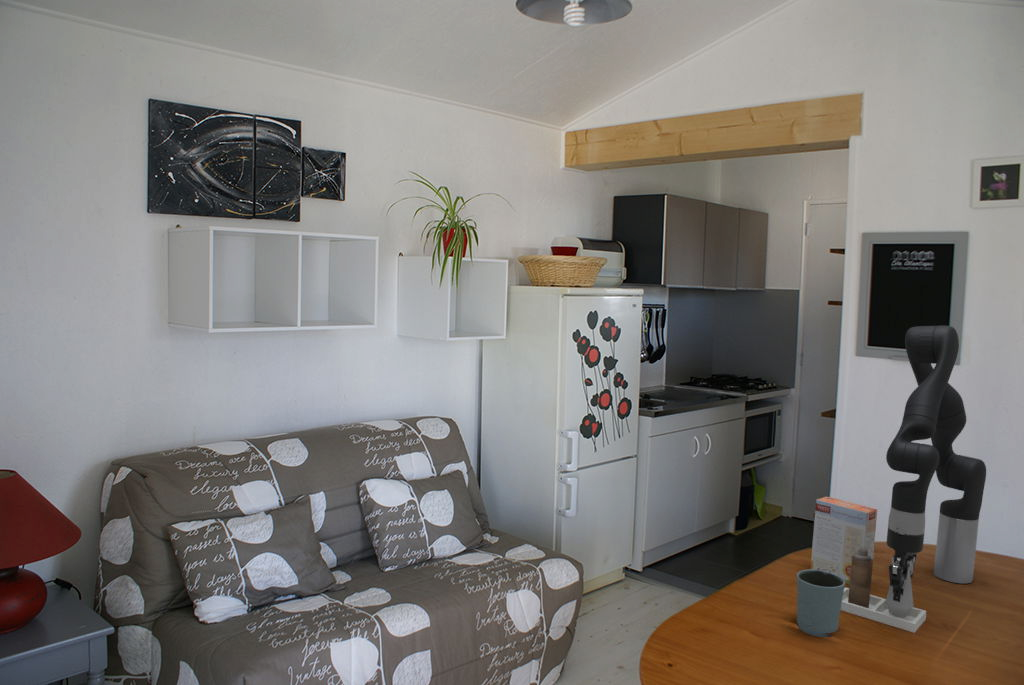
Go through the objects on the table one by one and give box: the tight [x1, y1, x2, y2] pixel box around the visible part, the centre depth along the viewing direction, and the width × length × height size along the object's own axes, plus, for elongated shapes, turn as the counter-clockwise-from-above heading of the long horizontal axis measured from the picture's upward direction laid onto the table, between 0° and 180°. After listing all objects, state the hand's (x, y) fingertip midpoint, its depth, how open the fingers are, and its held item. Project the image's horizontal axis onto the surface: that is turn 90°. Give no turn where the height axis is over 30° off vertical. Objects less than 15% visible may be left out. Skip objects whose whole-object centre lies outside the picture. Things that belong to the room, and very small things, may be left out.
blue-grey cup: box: [796, 568, 846, 638], centre depth 178 cm, size 10×10×12 cm
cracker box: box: [810, 496, 878, 586], centre depth 207 cm, size 14×6×21 cm, turn 40°
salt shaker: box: [885, 562, 915, 617], centre depth 183 cm, size 6×6×13 cm
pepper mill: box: [848, 547, 874, 609], centre depth 189 cm, size 5×5×15 cm
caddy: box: [840, 587, 927, 634], centre depth 186 cm, size 10×18×3 cm, turn 49°
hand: (899, 600), depth 183 cm, fingers closed on salt shaker, 3 cm apart
